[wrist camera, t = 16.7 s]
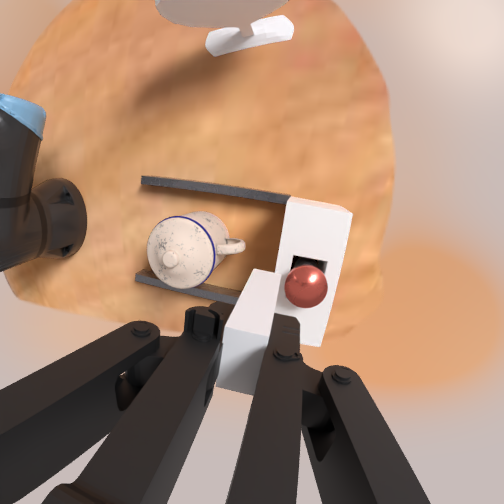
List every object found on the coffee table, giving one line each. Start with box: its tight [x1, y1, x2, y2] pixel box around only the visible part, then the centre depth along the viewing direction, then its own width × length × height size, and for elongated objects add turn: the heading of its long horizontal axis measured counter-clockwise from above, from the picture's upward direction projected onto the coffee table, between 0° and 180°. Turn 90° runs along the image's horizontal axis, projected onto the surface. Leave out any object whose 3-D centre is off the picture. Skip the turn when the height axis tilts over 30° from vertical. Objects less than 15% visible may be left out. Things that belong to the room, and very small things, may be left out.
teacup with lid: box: [147, 211, 245, 289], centre depth 38 cm, size 12×9×12 cm
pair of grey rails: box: [135, 176, 291, 305], centre depth 42 cm, size 22×16×2 cm
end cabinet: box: [274, 197, 353, 347], centre depth 37 cm, size 7×16×10 cm, turn 171°
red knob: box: [284, 257, 328, 308], centre depth 33 cm, size 4×4×7 cm
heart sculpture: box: [155, 0, 294, 57], centre depth 26 cm, size 16×5×18 cm, turn 101°
